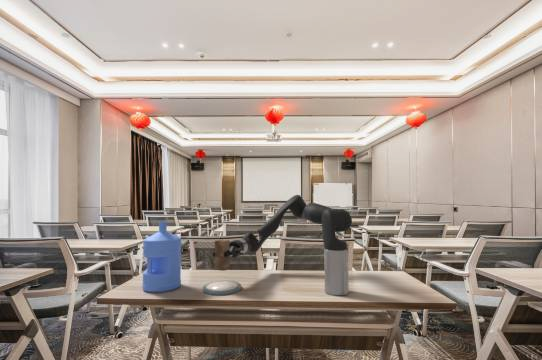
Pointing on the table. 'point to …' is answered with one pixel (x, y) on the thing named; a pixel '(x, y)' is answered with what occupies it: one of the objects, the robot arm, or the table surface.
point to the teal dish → (221, 288)
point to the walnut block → (221, 255)
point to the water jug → (162, 261)
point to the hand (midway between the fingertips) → (219, 254)
